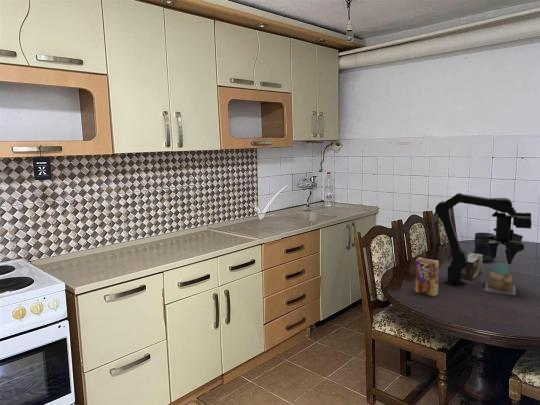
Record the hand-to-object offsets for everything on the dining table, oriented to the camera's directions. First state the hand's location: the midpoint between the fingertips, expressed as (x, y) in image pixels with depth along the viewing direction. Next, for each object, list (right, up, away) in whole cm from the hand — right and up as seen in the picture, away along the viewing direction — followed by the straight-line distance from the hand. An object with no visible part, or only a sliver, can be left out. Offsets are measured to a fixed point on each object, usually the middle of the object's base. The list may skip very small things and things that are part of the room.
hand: (501, 261), depth 182 cm
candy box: (-34, -14, 0) cm, 36 cm away
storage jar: (+15, -6, +44) cm, 47 cm away
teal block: (0, -6, +1) cm, 6 cm away
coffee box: (+2, -5, +27) cm, 28 cm away
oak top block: (0, -9, +1) cm, 9 cm away
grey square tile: (0, -13, +2) cm, 13 cm away
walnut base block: (0, -12, +2) cm, 13 cm away
